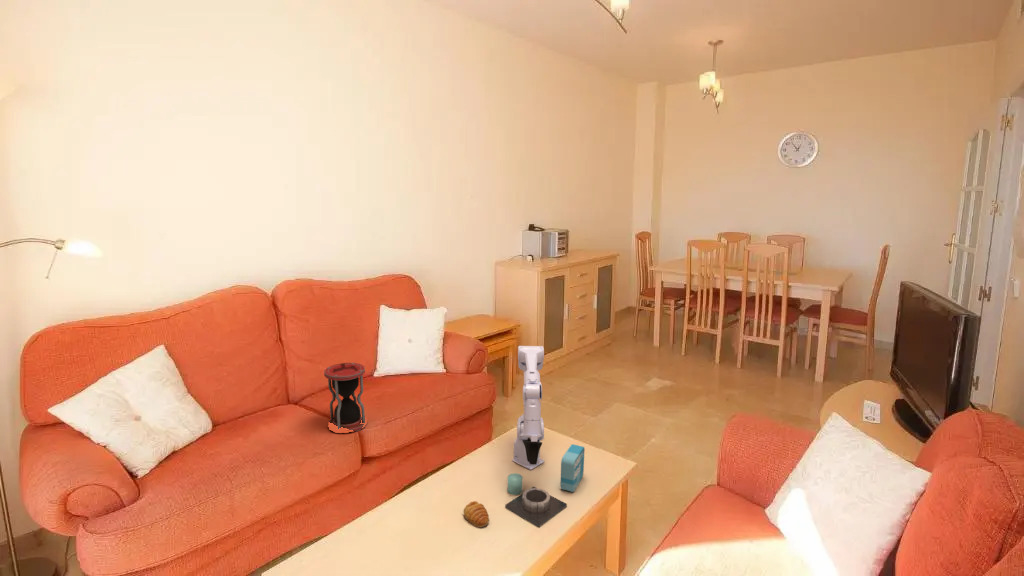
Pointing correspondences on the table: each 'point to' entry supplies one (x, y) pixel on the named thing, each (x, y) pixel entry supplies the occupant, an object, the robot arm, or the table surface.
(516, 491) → the teal rounded cylinder
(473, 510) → the pastry
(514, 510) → the square base ring holder
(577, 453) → the data package
